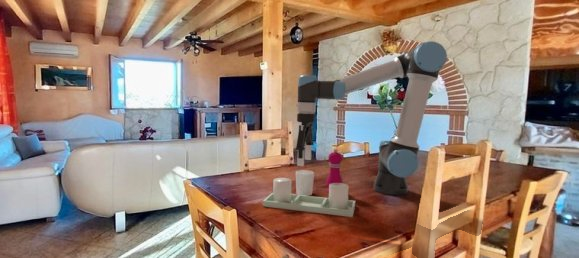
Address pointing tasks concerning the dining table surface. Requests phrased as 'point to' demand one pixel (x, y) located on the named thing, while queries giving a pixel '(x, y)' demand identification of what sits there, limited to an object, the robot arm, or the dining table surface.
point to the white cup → (304, 182)
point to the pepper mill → (334, 168)
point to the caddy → (310, 205)
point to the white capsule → (282, 190)
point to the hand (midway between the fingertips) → (304, 162)
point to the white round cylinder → (338, 196)
